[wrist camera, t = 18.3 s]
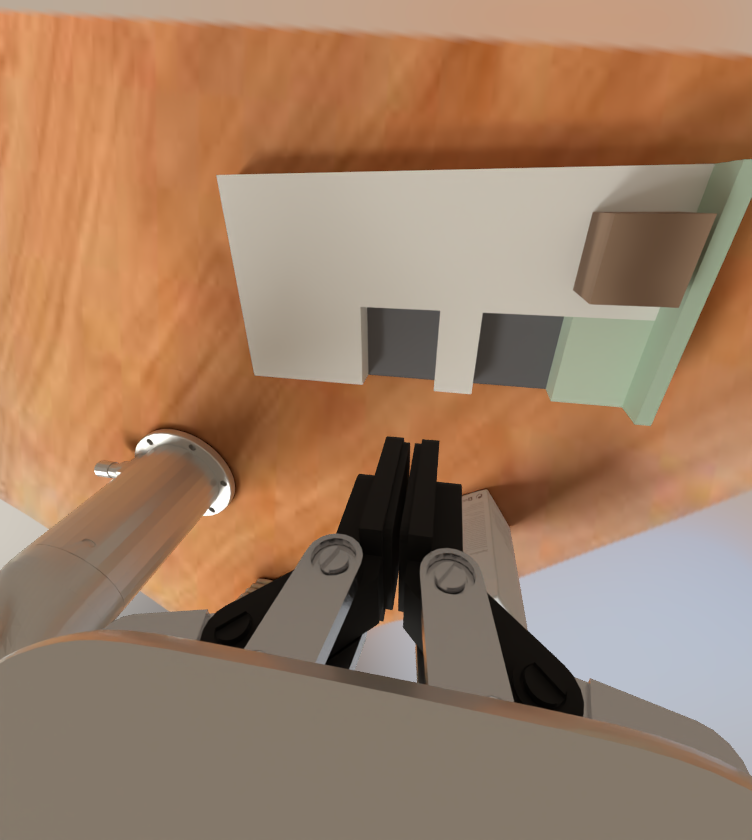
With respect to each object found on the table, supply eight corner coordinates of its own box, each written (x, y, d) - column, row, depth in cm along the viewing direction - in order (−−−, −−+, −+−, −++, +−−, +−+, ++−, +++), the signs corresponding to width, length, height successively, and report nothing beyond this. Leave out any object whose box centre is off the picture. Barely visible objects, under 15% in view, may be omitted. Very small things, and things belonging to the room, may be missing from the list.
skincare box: (449, 498, 39) (442, 604, 29) (489, 486, 37) (498, 595, 27) (474, 537, 41) (477, 650, 31) (514, 528, 39) (531, 644, 29)
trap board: (267, 365, 35) (240, 387, 31) (235, 176, 27) (193, 172, 23) (624, 393, 29) (650, 425, 25) (710, 166, 22) (768, 158, 18)
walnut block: (572, 289, 24) (589, 304, 21) (592, 211, 22) (615, 213, 19) (648, 292, 23) (678, 307, 20) (677, 211, 21) (717, 213, 18)
